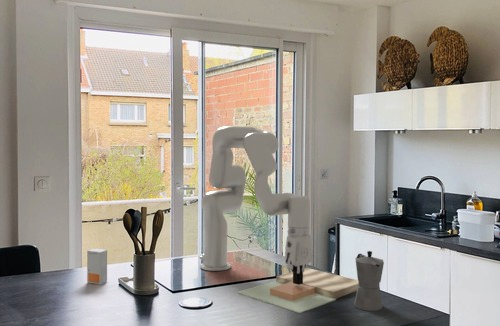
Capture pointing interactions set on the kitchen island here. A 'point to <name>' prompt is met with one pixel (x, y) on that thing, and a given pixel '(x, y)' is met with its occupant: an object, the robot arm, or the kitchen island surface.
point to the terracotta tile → (292, 291)
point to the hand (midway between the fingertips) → (297, 283)
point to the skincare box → (97, 266)
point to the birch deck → (323, 282)
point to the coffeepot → (368, 282)
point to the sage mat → (297, 305)
